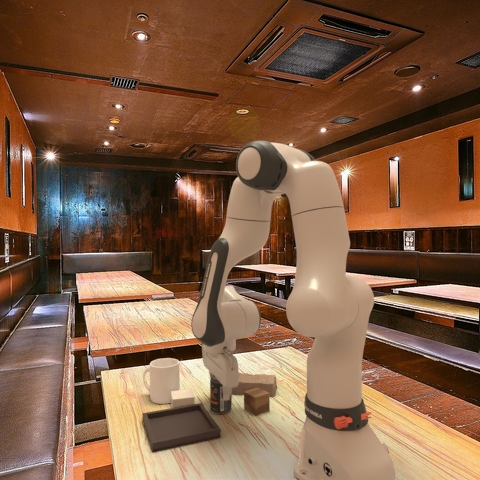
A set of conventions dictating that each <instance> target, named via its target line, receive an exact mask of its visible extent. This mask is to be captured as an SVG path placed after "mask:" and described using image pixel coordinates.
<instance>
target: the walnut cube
mask: <svg viewBox="0 0 480 480" xmlns="http://www.w3.org/2000/svg"><path fill="white" fill-rule="evenodd" d="M270 397H271V396H269V393H268V392H266V391H264V390H262V389H260V388H254V389H251V390H248V391H245V392H244V395H243V410H244V411H246V412H248V413H249V414H251V415H253V416H255V417H257V416H260V415H262V414H265V413H268V412H270V409H271V407H270V405H271V404H270V401H271V400H270Z"/></svg>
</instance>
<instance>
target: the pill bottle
mask: <svg viewBox="0 0 480 480" xmlns="http://www.w3.org/2000/svg"><path fill="white" fill-rule="evenodd" d="M209 379H210V378H209ZM209 391H210V392H209V395H210V396H209V397H210V400H209V403H210V405H209V407H210V409H209V410H210V411H211V412H212V413H213V414H217V415H224V414H228V413H230V412H231V411H232V407H233V402H232V400H233V399H232V395H233V394H232V389H231V392H230V399H229V400H226V401H225V400H223V398H222V392H223V385H222V384H221V383H220V382H219V381H218V380H217V379H216V378H215V376H212V377H211V379H210V381H209Z"/></svg>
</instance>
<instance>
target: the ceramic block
mask: <svg viewBox="0 0 480 480" xmlns="http://www.w3.org/2000/svg"><path fill="white" fill-rule="evenodd" d="M195 400H196V399H195V394H194V391H193V388H190V389H189V388H187V389H180V390H177V391H171V403H170V406H171V408H175V407H181V406H187V405H192V404H196V403H195V402H196V401H195Z"/></svg>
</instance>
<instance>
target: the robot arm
mask: <svg viewBox="0 0 480 480" xmlns="http://www.w3.org/2000/svg"><path fill="white" fill-rule="evenodd" d="M235 170H236V171H235V172H236V175H237V177H236V178H235V179H234V181H233V182H232V186H231V190H230V194H229V197H228V201H227V202H228V203H227V210H226V219H225V224H224V227H223V230H222V233H221V234H220V236H219V237H218V238H217V240H215V241H214V243H213V245H212V247H211V248H210V251H209V256H208V259H207V263H206V267H205V270H204V277H203V281H202V286H201V290H200V293H199V298H198V302H197V304H196V307H195V308H194V312H193V314H192V316H191V317H192V319H191V323H190V324H191V325H190V326H191V332H192V334H193V337H195V339H196V340H197V341H199V342H200V343H201V353H202V354H201V355H202V363H203V366H204V367H205V368H206V369H207V370H208V375H209V379H211V377H212V376H215V378H216V379H217V380H218V381H219V382H220V383H221V384H222V385H223V392H222V398H223V400H225V401H226V400H229V399H230V392H231V389H232V388H235V387H238V384H239V373H240V372H239V363H238V362H239V361H238V358H237V357H236V356H235V355H234V351H236V346H237V345H236V344H237V343H236V341H237V340H239V339H242V338H247V337H250V336H253V335H255V334H257V333H258V332H259V330H260V327H261V323H262V316H261V315H262V314H261V311H260V309H259V306H258V305H257V304H256V303H255V302H254V301H253V300H250V299H247V298H245V297H244V296H242V295H240V294H239V293H238V292H237V291H236V288H235V287H234V286H233V284H227V281H228V276H229V274H230V272H231V270H232V268H234V267H235V266H236V265H237V264H238V263H240V262H241V261H243V260H245V259H247V258H249V257H250V256H254V255H255V254H256V253H258V252H259V251H260V250H262V249H263V247H264V246H265V245H266V244H267V241H268V239H269V236H270V235H269V234H270V231H271V230H270V229H271V219H272V218H271V217H272V209H273V203H274V201H275V200H276V199H277V197H279V196H281V197H282V198H288V202H289V206H290V215H291V220H292V221H291V222H292V227H293V234H294V241H295V248H296V264H295V265H296V267H295V277H294V283H293V287H292V290H291V293H290V294H289V296H288V298H287V301H286V304H285V305H286V306H285V312H286V318H287V320H288V323H289V325H290V326H291V328H292V329H293V330H294V331H295V332H297V334H299V335H301V336H303V337H307V338H314V339H313V340H314V341H313V343H312V346H311V348H310V351H309V352H308V354H307V357H306V393H305V395H304V405H303V406H304V414H305V416H306V417H305V421H304V424H303V426H302V428H301V431H300V437H299V438H300V439H299V451H298V463H297V464H296V465H295V467H294V469H293V475H294V477H295V478H297V479H298V480H399V479H398V478H397V477H396V471H395V470H396V469H395V465H394V461H393V458H392V457H391V455H390V450H389V449H390V448H389V447H388V445H387V444H385V443H382V442H381V440H380V439H379V437H378V435H376V432H375V431H374V429H372V427H371V425H370V424H369V419H372V416H370V415H371V414H372V412H371V411H370V412H367V407H366V404H365V401H364V399H363V397H362V395H363V393H362V391H363V390H362V387H363V386H362V385H363V384H362V379H363V377H362V375H363V374H362V373H363V372H362V371H363V369H362V367H363V355H364V348H365V345H366V339H367V333H368V327H369V319H370V315H371V313H372V310H373V307H374V305H375V296H374V292H373V290H372V288H371V286H370V285H369V284H368V283H367V282H366V281H365V280H363V279H361V278H359V277H356V276H352V275H347V273H346V270H347V258H348V253H349V251H350V247H351V239H350V235H349V234H350V233H349V229H348V222H347V216H346V212H345V207H344V201H343V197H342V192H341V190H340V187H339V186H340V185H339V182H338V180H337V177H336V174H335V172H334V170H333V168H332V167H331V165H329V164H328V163H326V162H324V161H321V160H316V159H315V157H314V156H313V155H311V154H310V153H309V152H307V151H305V150H303V149H297V148H295V147H292V146H290V145H288V144H285V143H280V142H272V141H271V142H269V141H267V140H254V141H249V142H248V143H246V144H245V145H243V146H242V147H241V149H240V150H239V152H238V154H237V157H236V161H235Z"/></svg>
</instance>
